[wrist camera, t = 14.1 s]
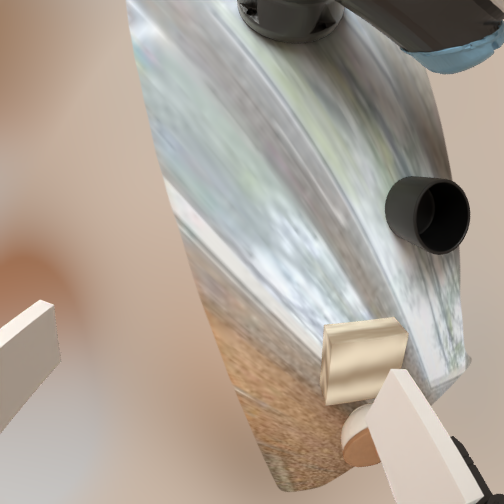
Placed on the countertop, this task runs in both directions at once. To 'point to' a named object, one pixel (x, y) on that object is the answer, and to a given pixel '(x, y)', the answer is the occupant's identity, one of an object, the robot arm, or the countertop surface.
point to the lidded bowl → (358, 439)
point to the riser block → (359, 358)
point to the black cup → (428, 213)
